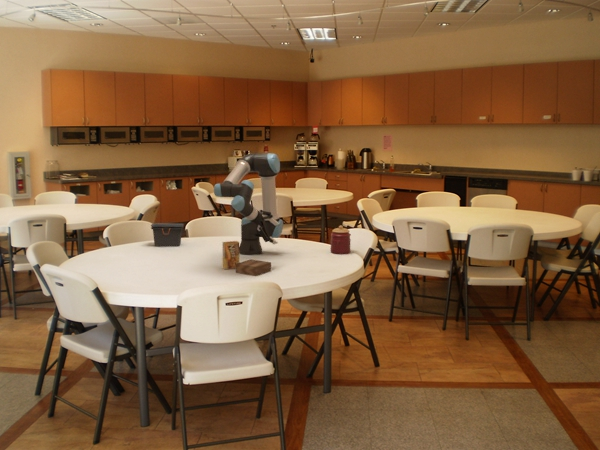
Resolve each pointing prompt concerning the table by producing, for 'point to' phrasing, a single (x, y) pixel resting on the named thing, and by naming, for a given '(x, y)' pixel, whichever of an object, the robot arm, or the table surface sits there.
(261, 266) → the walnut base
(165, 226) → the storage bin
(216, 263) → the table surface
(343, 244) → the canister
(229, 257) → the candy box
